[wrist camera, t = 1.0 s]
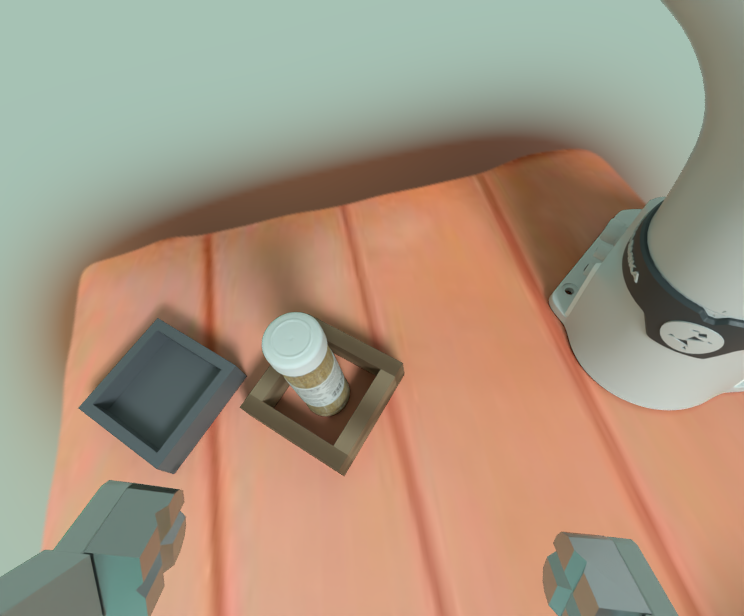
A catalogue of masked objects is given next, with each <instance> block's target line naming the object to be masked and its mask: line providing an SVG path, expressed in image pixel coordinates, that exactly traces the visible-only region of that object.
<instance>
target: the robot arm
mask: <svg viewBox="0 0 744 616" xmlns="http://www.w3.org/2000/svg"><path fill="white" fill-rule="evenodd" d="M661 2H662V3H663V4H664V5H665V6H666V7H667V8H668V10H669V11H670V12H671V13H672V15H673V16H674V17H675V19H676V20H677V21H678V23H679V24H680V25H681V26H682V28H683V30H684V32H685V34H686V35H687V37H688V39H689V40H690V42H691V45H692V47H693V49H694V52H695V54H696V56H697V59H698V62H699V66H700V69H701V73H702V76H703V83H704V90H705V112H704V119H703V124H702V128H701V131H700V134H699V137H698V140H697V143H696V145H695V147H694V149H693V151H692V153H691V155H690V157H689V159H688V161H687V163H686V165H685V166H684V168H683V170H682V172H681V173H680V175H679V177H678V179H677V180H676V182H675V184H674V185H673V187H672V189H671V190H670V192H669V193H668V195H667V197H659V198H655V199H652V200H650V201H649V202H648V203H647V204H646V205H645V207H644V208H643V209H629V210H622V211H620V212H619V213H618V214H617V215H616V216H615V217H614V218H612V219H611V220H610V222H609V223H608V225H607V226H606V228H605V229H604V231H603V232H602V233H601V234H600V236H599V237H598V238H597V239H596V240H595V242H594V243H593V244H592V245H591V247H590V248H589V249H588V250H587V251H586V253H585V254H584V255H583V256H582V258H581V259H580V260H579V261H578V262H577V264H576V265H575V266H574V267H573V268H572V270H571V271H570V272H569V273H568V275H567V276H566V277H565V278H564V279H563V281H562V282H561V283H560V284H559V286H558V287H557V288H556V289H555V290H554V292H553V293H552V294H551V296H550V298H549V305H550V307H551V309H552V310H553V312H554V313H555V314H556V316H557V317H558V318H559V319H560V320H561V322H562V323H563V324H564V326H565V328H566V331H567V334H568V338H569V341H570V345H571V347H572V350H573V352H574V354H575V356H576V358H577V360H578V361H579V363H580V364H581V366H582V367H583V368H584V370H585V371H586V372H587V373H588V374H589V375H590V376H591V377H592V378H593V379H594V380H595V381H596V382H597V383H598V384H599V385H601V386H602V387H603V388H605V389H606V390H607V391H609V392H610V393H612V394H614V395H615V396H617V397H619V398H621V399H623V400H625V401H628V402H630V403H633V404H636V405H639V406H642V407H646V408H651V409H658V410H680V409H686V408H691V407H694V406H697V405H700V404H702V403H704V402H706V401H708V400H710V399H711V398H713V397H715V396H717V395H719V394H722V393H726V392H742V391H744V0H661ZM565 291H569V292H571V293H572V295H569V294H567V293H566V292H565ZM183 504H184V494H183V490H180V489H173V488H166V487H159V486H151V485H144V484H137V483H129V482H121V481H113V480H109V481H108V482H106V483H105V484H103V485H102V486H101V487H100V488H99V490H98V491H97V492H96V494H95V495H94V496H93V498H92V499H91V500H90V502H89V503H88V504H87V506H86V507H85V508H84V510H83V511H82V512H81V514H80V515H79V516H78V518H77V519H76V520H75V522H74V523H73V524H72V526H71V527H70V528H69V530H68V531H67V532H66V534H65V535H64V536H63V538H62V539H61V540H60V542H59V543H58V544H57V546H56V547H55V548H54V550H44V551H42V552H41V553H39V554H37V555H36V556H34V557H32V558H31V559H29V560H27V561H26V562H24V563H23V564H21V565H19V566H17V567H16V568H14V569H13V570H11V571H9V572H8V573H6V574H4V575H3V576H1V577H0V616H151V614H152V612H153V610H154V608H155V605H156V603H157V601H158V599H159V597H160V595H161V593H162V590H163V588H164V576H163V573H164V572H166V571H167V570H168V569H169V568H171V567H172V566H173V565H174V564H175V562H176V560H177V558H178V555H179V553H180V551H181V547H182V544H183V540H184V537H185V529H186V517H185V516H184V514H183V513H182V512H181V511H180V510H181V508H182V506H183ZM553 544H554V546H555V549H556V552H554V553H553V554H551V555H549V556H548V557H547V559H546V561H545V564H544V567H543V586H544V592H545V595H546V599H547V602H548V605H549V606H550V607H551V608H552V609H553V611H554V612H555V613H556V614H557V615H558V616H678V614H677V612H676V611H675V609H674V607H673V605H672V604H671V602H670V600H669V599H668V597H667V595H666V593H665V592H664V590H663V588H662V587H661V585H660V583H659V581H658V580H657V578H656V576H655V575H654V573H653V571H652V569H651V568H650V566H649V564H648V563H647V561H646V559H645V557H644V556H643V554H642V552H641V551H640V549H639V547H638V546H637V544H636V543H635V542H634V541H632V540H631V539H623V538H615V537H605V536H600V535H590V534H580V533H570V532H561V533H559V534H558V535H557V536H556V538H555V540H554V542H553Z"/></svg>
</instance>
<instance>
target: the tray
mask: <svg viewBox="0 0 744 616" xmlns="http://www.w3.org/2000/svg"><path fill="white" fill-rule="evenodd" d="M246 377H247V376H246V375H245V374H244V373H243V372H242V371H241V370H240V369H239V368H238V367H237V366H236V365H234V364H232V363H231V362H229V361H227V360H226V359H224V358H222V357H221V356H219V355H217V354H216V353H214V352H213V351H211V350H209V349H208V348H206V347H204V346H203V345H201V344H199V343H198V342H196V341H194V340H193V339H191V338H190V337H188V336H186V335H185V334H183V333H181V332H180V331H178V330H176V329H175V328H173V327H171V326H170V325H168V324H166V323H165V322H163V321H162V320H160V319H158V318H157V319H156V321H155V322H154V323H153V324H152V325H151V326H150V327H149V328H148V330H147V331H146V332H145V333H144V334H143V335H142V336H141V338H140V339H139V340H138V341H137V342H136V343H135V344H134V345H133V347H132V348H131V349H130V350H129V351H128V352H127V353H126V355H125V356H124V357H123V358H122V359H121V360H120V361H119V362H118V364H117V365H116V366H115V367H114V368H113V369H112V370H111V372H110V373H109V374H108V375H107V376H106V377H105V378H104V379H103V381H102V382H101V383H100V384H99V385H98V386H97V387H96V389H95V390H94V391H93V392H92V393H91V394H90V395H89V396H88V398H87V399H86V400H85V401H84V402H83V403H82V404H81V406H80V407H79V409H80V410H81V411H83V412H84V413H85V414H86V415H88V416H89V417H90V418H92V419H93V420H94V421H96V422H97V423H98V424H99V425H101V426H102V427H103V428H105V429H106V430H107V431H108V432H110V433H111V434H112V435H114V436H115V437H116V438H117V439H119V440H120V441H121V442H123V443H124V444H125V445H126V446H128V447H129V448H130V449H132V450H133V451H134V452H136V453H137V454H138V455H139V456H141V457H142V458H143V459H145V460H146V461H147V462H148V463H150V464H151V465H152V466H154V467H155V468H156V469H158V470H162V471H165V472H168V473H172V474H175V472H176V471H177V470H178V468H179V467H180V466H181V464H182V463H183V462H184V460H185V459H186V458H187V456H188V455H189V454H190V452H191V451H192V450H193V448H194V447H195V446H196V444H197V443H198V442H199V440H200V439H201V437H202V436H203V435H204V433H205V432H206V431H207V429H208V428H209V427H210V425H211V424H212V423H213V421H214V420H215V419H216V417H217V416H218V415H219V413H220V412H221V411H222V409H223V408H224V407H225V405H226V404H227V402H228V401H229V400H230V398H231V397H232V396H233V394H234V393H235V392H236V390H237V389H238V388H239V386H240V385H241V384H242V382H243V381H244V380H245V378H246Z"/></svg>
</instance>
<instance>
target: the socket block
mask: <svg viewBox="0 0 744 616" xmlns="http://www.w3.org/2000/svg"><path fill="white" fill-rule="evenodd" d="M308 315H309V314H308ZM310 316H311V315H310ZM312 317H313V316H312ZM313 318H315V317H313ZM315 319H316V320H317V322H318V323H319V324H320V326H321V328H322V329H323V331H324V333H325V336H326V339H327V345H328V346H329V348H330V349H331V350H332V352H333V353H335V354H337V355H338V356H340V357H342V358H344V359H346V360H348V361H350V362H351V363H353V364H355V365H357V366H359V367H361V368H362V369H364V370H366V371H368V372H370V373H372V374H374V375H375V376H376V378H375V379H374V381H373V383H372V384H371V386H370V387H369V389H368V391H367V392H366V394H365V396H364V397H363V399H362V400H361V402H360V404H359V405H358V407H357V409H356V410H355V412H354V413H353V415H352V417H351V418H350V420H349V422H348V423H347V425H346V426H345V428H344V430H343V431H342V433H341V435H340V436H339V438H338V439H337V441H336V443H335V444H334V446H333V445H331V444H329V443H328V442H326V441H325V440H323V439H321V438H320V437H318V436H317V435H315V434H313V433H312V432H310V431H309V430H307V429H305V428H304V427H302V426H301V425H299V424H298V423H296V422H294V421H293V420H291V419H290V418H288V417H286V416H285V415H283V414H282V413H280V412H278V411H277V410H275V409H274V407H275V405H276V404H277V403H278V401H279V400H280V398H281V397H282V395H283V394H284V393H285V391H286V390H287V388H288V387H289V385H290V384H289V383H288V382H287V381H286V379H285V378H284V376H283V375H282V374H280V373H279V372H277V371H276V370H275V369H274V368H273V367H272V366H271V365H270V366H269V368H268V369H267V371H266V372H265V373H264V375H263V376H262V377H261V379H260V380H259V382H258V383H257V384H256V386H255V387H254V388H253V390H252V391H251V393H250V394H249V395H248V397H247V398H246V399H245V401H244V402H243V404H242V405H241V406H240V408H241V409H243V410H244V411H245V412H246V413H248V414H249V415H250V416H252V417H253V418H255V419H257V420H258V421H260V422H261V423H263V424H264V425H266V426H267V427H269V428H270V429H272V430H273V431H275V432H277V433H278V434H280V435H281V436H283V437H284V438H286V439H287V440H289V441H290V442H292V443H293V444H295V445H297V446H298V447H300V448H301V449H303V450H304V451H306V452H307V453H309V454H310V455H312V456H314V457H315V458H317V459H318V460H320V461H321V462H323V463H324V464H326V465H327V466H329V467H330V468H332V469H334V470H335V471H337V472H338V473H340V474H341V475H343V476H345V474H346V473H347V471H348V469H349V467H350V466H351V464H352V462H353V461H354V459H355V457H356V456H357V454H358V452H359V451H360V449H361V447H362V445H363V444H364V442H365V440H366V439H367V437H368V435H369V434H370V432H371V430H372V428H373V427H374V425H375V423H376V422H377V420H378V418H379V417H380V415H381V413H382V411H383V410H384V408H385V406H386V405H387V403H388V401H389V400H390V398H391V396H392V395H393V393H394V391H395V389H396V388H397V386H398V384H399V383H400V381H401V379H402V378H403V376H404V368H403V363H402V362H400V361H398V360H396V359H394V358H392V357H390V356H388V355H386V354H384V353H382V352H381V351H379V350H377V349H375V348H373V347H371V346H369V345H367V344H365V343H363V342H361V341H359V340H357V339H355V338H353V337H352V336H350V335H348V334H346V333H344V332H342V331H340V330H338V329H336V328H334V327H332V326H330V325H328V324H326V323H325V322H323V321H321V320H319V319H317V318H315Z"/></svg>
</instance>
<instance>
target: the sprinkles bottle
mask: <svg viewBox="0 0 744 616" xmlns="http://www.w3.org/2000/svg"><path fill="white" fill-rule="evenodd" d="M262 350H263V354H264V356H265V358H266V359H267V361H268V362H269V363H270V364H271V366H272V367H273V368H274V369H275V370H276V371H277V372H279V373H280V374H282V375H283V376H284V378H285V379H286V381H287V382H288V383H289V384H290V385H291V387H292V388H293V389H294V390H295V391H296V393H297V394H298V395H299V396H300V397H301V399H302V400H303V401H304V402H306V404H307V406H308V407H309V409H310V410H311V411H312V412H314V413H315V414H317V415H320V416H332V415H334V414H337V413H338V412H340V411H341V410H342V409H343V408H344V407H345V406H346V404H347V402H348V400H349V397H350V388H349V385H348V382H347V380H346V379H345V378H344V376H343V373H342V371H341V368H340V366H339V364H338V362H337V360H336V358H335V356H334V354H333V352H332V350H331V349H330V348H329V346H328V345H327V339H326V336H325V333H324V331H323V329H322V328H321V326H320V324H319V323H318V322H317V320H316V319H315V318H313V317H312V316H310V315H308V314H305V313H301V312H291V313H287V314H284V315H281V316H279V317H278V318H276V319H275V320H274V321H273V322H271V324H270V325H269V326H268V327H267V329H266V330H265V332H264V335H263V338H262Z"/></svg>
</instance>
